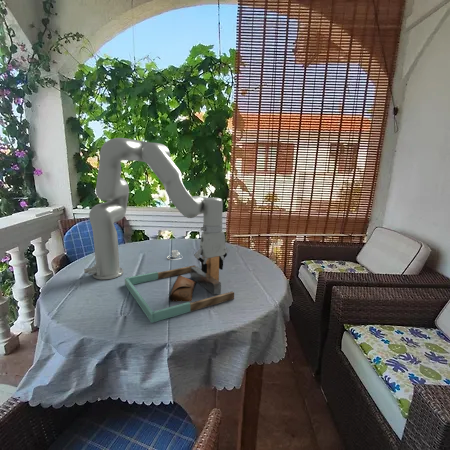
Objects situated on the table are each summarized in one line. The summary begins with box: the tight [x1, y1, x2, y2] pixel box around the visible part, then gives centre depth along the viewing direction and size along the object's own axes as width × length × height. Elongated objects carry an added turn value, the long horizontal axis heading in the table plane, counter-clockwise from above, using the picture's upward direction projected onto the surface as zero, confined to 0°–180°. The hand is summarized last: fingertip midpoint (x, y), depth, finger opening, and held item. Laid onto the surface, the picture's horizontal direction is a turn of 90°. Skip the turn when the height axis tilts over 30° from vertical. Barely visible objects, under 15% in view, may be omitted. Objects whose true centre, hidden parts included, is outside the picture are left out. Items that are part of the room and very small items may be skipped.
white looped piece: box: [166, 249, 182, 261], centre depth 150 cm, size 9×8×4 cm
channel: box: [157, 265, 235, 312], centre depth 115 cm, size 18×32×2 cm, turn 33°
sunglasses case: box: [169, 274, 197, 302], centre depth 112 cm, size 18×7×7 cm
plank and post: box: [190, 256, 222, 296], centre depth 118 cm, size 7×20×14 cm, turn 33°
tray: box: [124, 271, 191, 324], centre depth 106 cm, size 14×32×3 cm, turn 33°
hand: (212, 270), depth 119 cm, fingers open, 6 cm apart
